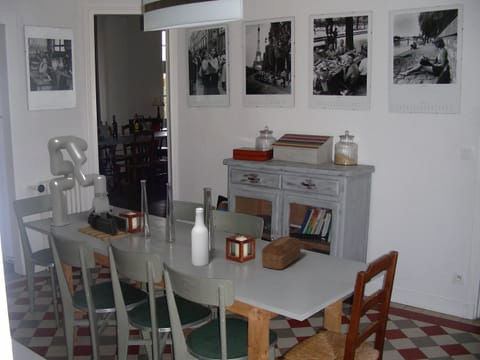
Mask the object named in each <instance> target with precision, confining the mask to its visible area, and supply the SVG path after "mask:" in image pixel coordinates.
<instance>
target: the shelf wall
mask: <svg viewBox="0 0 480 360" xmlns="http://www.w3.org/2000/svg"><path fill="white" fill-rule="evenodd" d="M106 214H107V212H104V213H99V216H101V217H104V218H107V216H106ZM112 218H113V219H114V221H115V222H116V227H117V230H119V231H121V232H124V233H128V218H125V217H122V216H119V215H116V214H114V213H113V214H112V213H111V214H110V219H112Z"/></svg>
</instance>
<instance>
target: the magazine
mask: <svg viewBox="0 0 480 360" xmlns="http://www.w3.org/2000/svg"><path fill="white" fill-rule="evenodd" d="M92 213H93V212H92ZM96 219H97V223H93V217H92V216H91V215H90V214H89V215H88V217H87V224H88V226H92V228H95V229H96V230H98V231H100V232H103V233H108V234H117V233H118V232H117V227H116V222H115V221H114V219H113V218H112V219H108V218H104V217H101V216H100V214H97V215H96Z"/></svg>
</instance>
